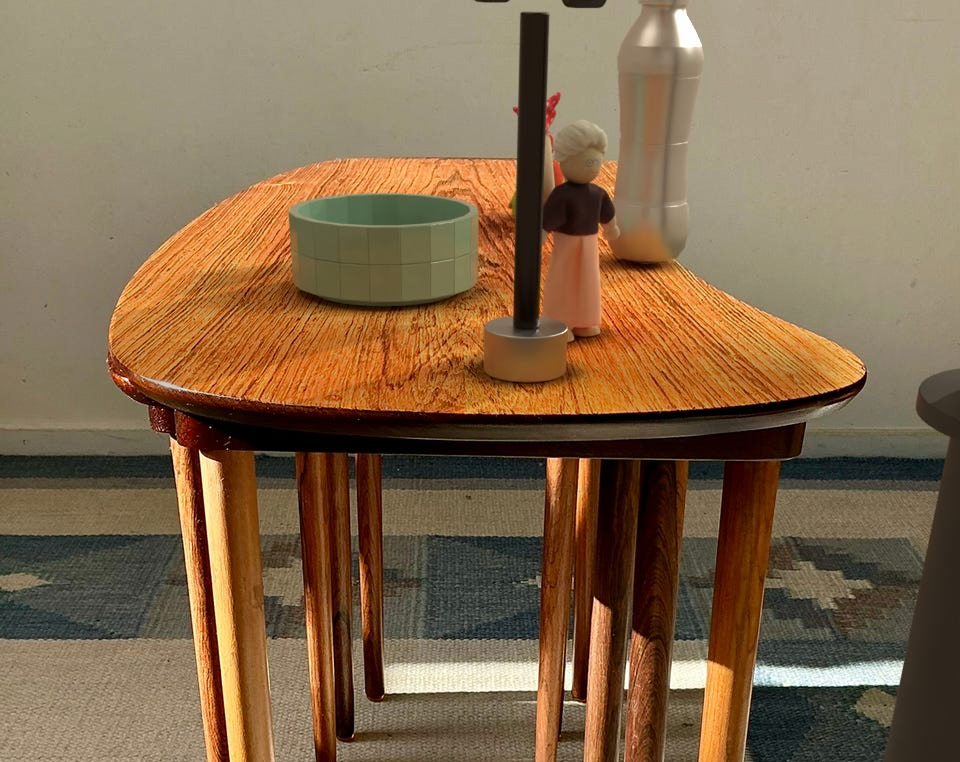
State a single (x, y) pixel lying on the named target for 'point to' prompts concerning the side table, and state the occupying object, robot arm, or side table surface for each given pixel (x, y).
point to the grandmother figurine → (577, 230)
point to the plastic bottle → (655, 131)
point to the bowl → (384, 248)
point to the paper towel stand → (528, 231)
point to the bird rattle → (547, 155)
